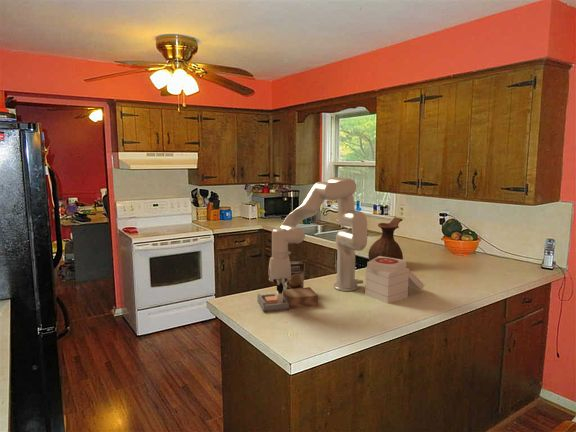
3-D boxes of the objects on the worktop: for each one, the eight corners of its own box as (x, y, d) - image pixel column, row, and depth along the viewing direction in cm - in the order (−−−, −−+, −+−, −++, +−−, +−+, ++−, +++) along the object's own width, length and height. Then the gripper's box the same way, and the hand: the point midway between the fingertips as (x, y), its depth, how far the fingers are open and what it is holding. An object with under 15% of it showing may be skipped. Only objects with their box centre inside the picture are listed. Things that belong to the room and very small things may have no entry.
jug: (407, 271, 250) (409, 222, 245) (371, 270, 250) (373, 222, 245) (398, 261, 271) (400, 216, 266) (365, 261, 272) (367, 216, 267)
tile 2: (280, 290, 198) (274, 291, 197) (283, 294, 193) (277, 294, 192) (280, 300, 198) (274, 301, 198) (283, 304, 194) (277, 305, 193)
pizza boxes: (427, 293, 212) (429, 259, 209) (387, 305, 195) (388, 268, 192) (397, 283, 227) (399, 251, 224) (358, 293, 210) (359, 259, 207)
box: (281, 298, 203) (281, 291, 202) (289, 309, 190) (289, 301, 189) (257, 301, 200) (257, 293, 199) (263, 312, 187) (263, 303, 186)
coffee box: (286, 295, 208) (286, 264, 205) (283, 291, 214) (283, 261, 211) (303, 293, 210) (304, 263, 207) (300, 289, 216) (300, 260, 214)
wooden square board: (309, 296, 206) (309, 287, 205) (317, 305, 195) (317, 295, 194) (282, 299, 202) (282, 289, 201) (289, 308, 191) (289, 298, 190)
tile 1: (264, 296, 196) (264, 302, 196) (266, 300, 191) (266, 306, 191) (274, 295, 197) (274, 301, 197) (277, 299, 192) (277, 305, 193)
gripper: (293, 251, 197) (292, 288, 200) (262, 253, 193) (263, 291, 196) (297, 255, 190) (297, 293, 193) (266, 257, 186) (266, 296, 189)
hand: (280, 292), depth 195 cm, fingers closed
